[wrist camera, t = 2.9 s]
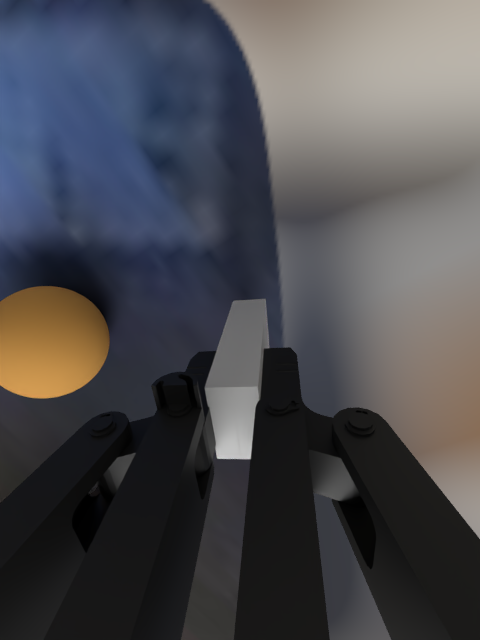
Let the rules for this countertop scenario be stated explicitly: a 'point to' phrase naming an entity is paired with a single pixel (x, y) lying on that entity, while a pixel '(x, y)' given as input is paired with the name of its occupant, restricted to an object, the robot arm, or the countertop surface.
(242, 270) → the countertop surface
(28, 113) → the countertop surface
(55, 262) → the countertop surface
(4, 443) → the countertop surface
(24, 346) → the ball
